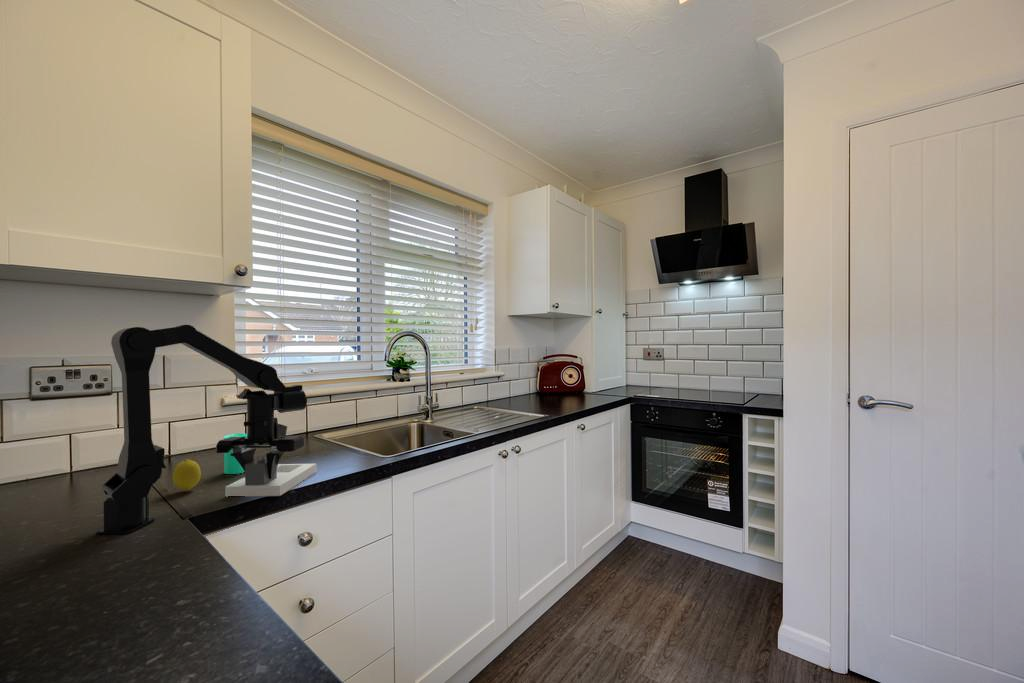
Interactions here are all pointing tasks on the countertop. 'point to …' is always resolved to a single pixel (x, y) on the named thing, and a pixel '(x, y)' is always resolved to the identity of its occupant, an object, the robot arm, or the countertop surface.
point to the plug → (258, 472)
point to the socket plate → (274, 481)
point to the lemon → (186, 475)
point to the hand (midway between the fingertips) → (261, 479)
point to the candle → (232, 458)
